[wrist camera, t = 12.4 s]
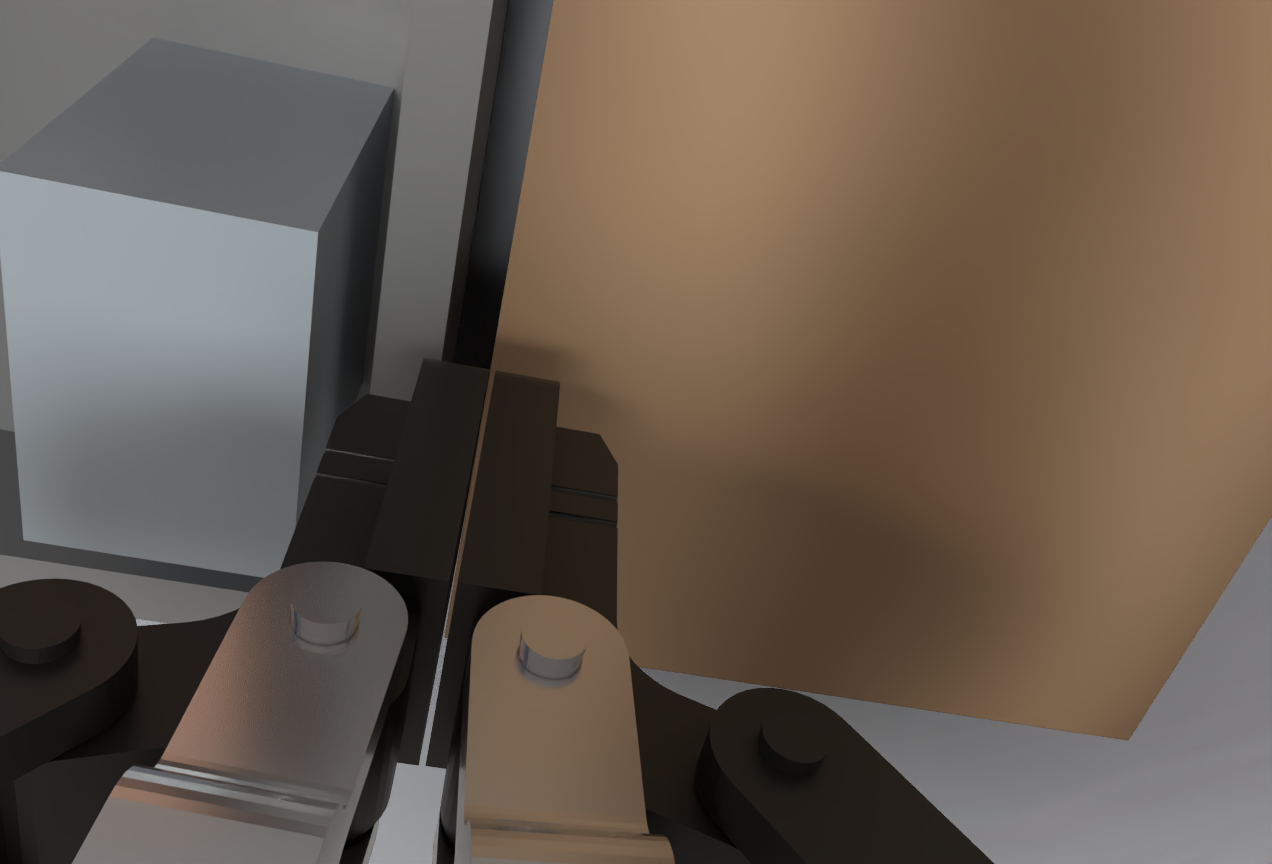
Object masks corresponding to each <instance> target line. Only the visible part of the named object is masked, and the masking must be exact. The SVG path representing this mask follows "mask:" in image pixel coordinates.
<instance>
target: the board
mask: <svg viewBox="0 0 1272 864" xmlns="http://www.w3.org/2000/svg"><path fill="white" fill-rule="evenodd" d="M495 370H497V371H503V372H508V373H514V374H519V375H525V376H531V377H536V378H542V379H547V380H553V381H559V382H560V392H559V403H558V415H557V426H556V427H562V428H567V429H573V430H579V431H585V432H590V433H596V434H600V435H601V437H602V439H603V440H604V442H605V444H606V445H607V447H608V449H609V450H610V452H611V454H612V455H613V457H614V459H615V460H616V462H617V464H618V498H617V502H618V523H617V528H618V550H617V627H618V632H619V633H620V635H621V636H622V637H623V639H624V642H625V644H626V646H627V649H628V654H629V656H630V658H631V659H632V660H633V662H634V663H635V664H636V665H637V666H638V667H645V668H652V669H658V670H665V671H671V672H678V673H685V674H691V675H698V676H705V677H711V678H718V679H724V680H731V681H738V682H744V683H751V684H758V685H764V686H771V687H777V688H784V689H791V690H797V691H804V692H811V693H817V694H824V695H830V696H837V697H844V698H850V699H857V700H864V701H870V702H877V703H883V704H890V705H897V706H903V707H910V708H917V709H923V710H930V711H936V712H943V713H950V714H956V715H963V716H970V717H976V718H983V719H989V720H996V721H1003V722H1009V723H1016V724H1023V725H1029V726H1036V727H1042V728H1049V729H1056V730H1062V731H1069V732H1076V733H1082V734H1089V735H1096V736H1102V737H1109V738H1115V739H1122V740H1129V739H1130V737H1131V735H1132V734H1133V732H1134V731H1135V729H1136V728H1137V726H1138V725H1139V723H1140V721H1141V720H1142V718H1143V717H1144V715H1145V714H1146V712H1147V710H1148V709H1149V707H1150V706H1151V704H1152V703H1153V701H1154V699H1155V698H1156V696H1157V695H1158V693H1159V692H1160V690H1161V688H1162V687H1163V685H1164V684H1165V682H1166V681H1167V679H1168V678H1169V676H1170V674H1171V673H1172V671H1173V670H1174V668H1175V667H1176V665H1177V663H1178V662H1179V660H1180V659H1181V657H1182V656H1183V654H1184V652H1185V651H1186V649H1187V648H1188V646H1189V645H1190V643H1191V641H1192V640H1193V638H1194V637H1195V635H1196V634H1197V632H1198V631H1199V629H1200V627H1201V626H1202V624H1203V623H1204V621H1205V620H1206V618H1207V616H1208V615H1209V613H1210V612H1211V610H1212V609H1213V607H1214V605H1215V604H1216V602H1217V601H1218V599H1219V598H1220V596H1221V594H1222V593H1223V591H1224V590H1225V588H1226V587H1227V585H1228V584H1229V582H1230V580H1231V579H1232V577H1233V576H1234V574H1235V573H1236V571H1237V569H1238V568H1239V566H1240V565H1241V563H1242V562H1243V560H1244V558H1245V557H1246V555H1247V554H1248V552H1249V551H1250V549H1251V547H1252V546H1253V544H1254V543H1255V541H1256V540H1257V538H1258V537H1259V535H1260V533H1261V532H1262V530H1263V529H1264V527H1265V526H1266V524H1267V522H1268V521H1269V519H1270V518H1271V516H1272V0H554V1H553V7H552V13H551V18H550V24H549V30H548V36H547V42H546V48H545V53H544V59H543V65H542V71H541V77H540V83H539V89H538V94H537V100H536V106H535V112H534V118H533V124H532V129H531V135H530V141H529V147H528V153H527V159H526V164H525V170H524V176H523V182H522V188H521V194H520V200H519V205H518V211H517V217H516V223H515V229H514V235H513V240H512V246H511V252H510V258H509V264H508V270H507V275H506V281H505V287H504V293H503V299H502V305H501V311H500V316H499V322H498V328H497V334H496V340H495V346H494V351H493V357H492V363H491V369H490V375H489V381H488V386H487V392H486V398H485V404H484V410H483V416H482V422H481V427H480V433H479V439H478V445H477V451H476V457H475V462H474V468H473V474H472V480H471V486H470V492H469V497H468V503H467V509H466V515H465V521H464V527H463V533H462V538H461V544H460V550H459V556H458V562H457V568H456V573H455V579H454V585H453V591H452V597H451V603H450V608H449V614H448V620H447V626H446V632H445V637H446V638H448V634H449V628H450V623H451V617H452V611H453V605H454V600H455V594H456V588H457V582H458V577H459V571H460V566H461V560H462V554H463V549H464V543H465V538H466V532H467V527H468V521H469V515H470V510H471V504H472V499H473V493H474V487H475V482H476V476H477V471H478V465H479V460H480V454H481V448H482V443H483V437H484V432H485V426H486V421H487V415H488V409H489V404H490V398H491V393H492V387H493V382H494V376H495Z"/></svg>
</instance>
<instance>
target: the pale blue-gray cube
mask: <svg viewBox="0 0 1272 864" xmlns="http://www.w3.org/2000/svg"><path fill="white" fill-rule="evenodd" d="M393 92H394V88H392V87H387V86H382V85H377V84H373V83H368V82H363V81H358V80H353V79H349V78H344V77H339V76H334V75H330V74H325V73H320V72H315V71H310V70H306V69H301V68H296V67H291V66H287V65H282V64H277V63H272V62H267V61H263V60H258V59H253V58H248V57H244V56H239V55H234V54H229V53H224V52H220V51H215V50H210V49H205V48H200V47H196V46H191V45H186V44H181V43H177V42H172V41H167V40H162V39H157V38H152V39H151V40H150V41H148V42H147V43H146V44H145V45H143V46H142V47H141V48H140V49H139V50H137V51H136V52H135V53H134V54H133V55H131V56H130V57H129V58H128V59H127V60H125V61H124V62H123V63H122V64H121V65H119V66H118V67H117V68H116V69H114V70H113V71H112V72H111V73H110V74H108V75H107V76H106V77H105V78H104V79H102V80H101V81H100V82H99V83H98V84H96V85H95V86H94V87H93V88H91V89H90V90H89V91H88V92H87V93H85V94H84V95H83V96H82V97H81V98H79V99H78V100H77V101H76V102H75V103H73V104H72V105H71V106H70V107H68V108H67V109H66V110H65V111H64V112H62V113H61V114H60V115H59V116H58V117H56V118H55V119H54V120H53V121H52V122H50V123H49V124H48V125H47V126H45V127H44V128H43V129H42V130H41V131H39V132H38V133H37V134H36V135H35V136H33V137H32V138H31V139H30V140H29V141H27V142H26V143H25V144H24V145H22V146H21V147H20V148H19V149H18V150H16V151H15V152H14V153H13V154H12V155H10V156H9V157H8V158H7V159H6V160H4V161H3V162H2V163H1V164H0V258H1V271H2V283H3V295H4V307H5V319H6V332H7V344H8V356H9V368H10V380H11V393H12V405H13V417H14V429H15V441H16V453H17V466H18V478H19V490H20V502H21V514H22V527H23V539H24V540H26V541H32V542H39V543H45V544H51V545H58V546H64V547H71V548H77V549H83V550H90V551H96V552H102V553H109V554H115V555H122V556H128V557H134V558H141V559H147V560H154V561H160V562H166V563H173V564H179V565H186V566H192V567H198V568H205V569H211V570H218V571H224V572H230V573H237V574H243V575H250V576H256V577H262V578H265V577H266V576H268V575H270V574H272V573H274V572H276V571H278V570H280V568H281V565H282V563H283V560H284V557H285V555H286V552H287V549H288V547H289V544H290V541H291V539H292V536H293V533H294V531H295V528H296V525H297V523H298V520H299V517H300V515H301V512H302V509H303V507H304V504H305V501H306V499H307V496H308V493H309V491H310V488H311V485H312V483H313V480H314V478H316V472H317V469H318V467H319V464H320V461H321V459H322V456H323V453H325V449H326V445H327V443H328V440H329V437H330V435H331V432H332V429H333V427H334V424H335V421H336V419H337V417H338V416H339V415H340V414H341V413H343V412H344V411H345V410H347V409H348V408H349V407H350V406H352V405H353V404H354V403H355V402H356V399H357V396H358V394H359V391H360V388H361V385H362V381H363V372H364V363H365V353H366V344H367V335H368V325H369V316H370V307H371V297H372V288H373V279H374V269H375V260H376V251H377V241H378V232H379V223H380V213H381V204H382V195H383V185H384V176H385V167H386V157H387V148H388V139H389V129H390V120H391V111H392V101H393Z"/></svg>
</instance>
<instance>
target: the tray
mask: <svg viewBox="0 0 1272 864" xmlns="http://www.w3.org/2000/svg"><path fill="white" fill-rule="evenodd" d="M508 1H509V0H0V164H1V163H2V162H3V161H4V160H6V159H7V158H8V157H9V156H10V155H12V154H13V153H14V152H15V151H16V150H18V149H19V148H20V147H21V146H22V145H24V144H25V143H26V142H27V141H29V140H30V139H31V138H32V137H33V136H35V135H36V134H37V133H38V132H39V131H41V130H42V129H43V128H44V127H45V126H47V125H48V124H49V123H50V122H52V121H53V120H54V119H55V118H56V117H58V116H59V115H60V114H61V113H62V112H64V111H65V110H66V109H67V108H68V107H70V106H71V105H72V104H73V103H75V102H76V101H77V100H78V99H79V98H81V97H82V96H83V95H84V94H85V93H87V92H88V91H89V90H90V89H91V88H93V87H94V86H95V85H96V84H98V83H99V82H100V81H101V80H102V79H104V78H105V77H106V76H107V75H108V74H110V73H111V72H112V71H113V70H114V69H116V68H117V67H118V66H119V65H121V64H122V63H123V62H124V61H125V60H127V59H128V58H129V57H130V56H131V55H133V54H134V53H135V52H136V51H137V50H139V49H140V48H141V47H142V46H143V45H145V44H146V43H147V42H148V41H150V40H151V39H152V38H157V39H162V40H167V41H172V42H177V43H181V44H186V45H191V46H196V47H200V48H205V49H210V50H215V51H220V52H224V53H229V54H234V55H239V56H244V57H248V58H253V59H258V60H263V61H267V62H272V63H277V64H282V65H287V66H291V67H296V68H301V69H306V70H310V71H315V72H320V73H325V74H330V75H334V76H339V77H344V78H349V79H353V80H358V81H363V82H368V83H373V84H377V85H382V86H387V87H392V88H394V92H393V101H392V111H391V120H390V129H389V139H388V148H387V157H386V167H385V176H384V185H383V195H382V204H381V213H380V223H379V232H378V241H377V251H376V260H375V269H374V279H373V288H372V297H371V307H370V316H369V325H368V335H367V344H366V353H365V363H364V372H363V381H362V385H361V388H360V391H359V394H358V396H357V399H356V402H357V401H358V400H359V399H361V398H362V397H363V396H365V395H366V394H371V395H377V396H383V397H388V398H394V399H400V400H406V401H411V400H412V396H413V393H414V389H415V386H416V382H417V379H418V375H419V372H420V368H421V365H422V361H423V359H424V358H429V359H434V360H440V361H446V362H451V363H454V359H455V352H456V345H457V339H458V332H459V325H460V319H461V312H462V306H463V299H464V292H465V286H466V279H467V272H468V266H469V259H470V253H471V246H472V239H473V233H474V226H475V220H476V213H477V206H478V200H479V193H480V186H481V180H482V173H483V167H484V160H485V153H486V147H487V140H488V134H489V127H490V120H491V114H492V107H493V100H494V94H495V87H496V81H497V74H498V67H499V61H500V54H501V48H502V41H503V34H504V28H505V21H506V14H507V8H508ZM356 402H355V403H356ZM55 578H58V579H72V580H77V581H83V582H88V583H91V584H94V585H97V586H100V587H102V588H104V589H106V590H108V591H110V592H112V593H114V594H115V595H116V596H118V597H119V598H121V599H122V600H123V601H124V602H125V603H126V604H127V606H128V607H129V608H130V609H131V611H132V613H133V615H134V617H135V618H136V619H143V620H150V621H157V622H163V623H170V624H171V623H182V622H191V621H199V620H205V619H209V618H213V617H217V616H221V615H223V614H226V613H229V612H232V611H234V610H236V609H238V608H240V607H241V605H242V603H243V601H244V599H245V597H246V596H247V594H248V593H249V591H250V590H251V589H252V588H253V587H254V586H255V585H256V584H257V583H258V582H259V581H261V580H262V579H264V578H262V577H256V576H250V575H243V574H237V573H230V572H224V571H218V570H211V569H205V568H198V567H192V566H186V565H179V564H173V563H166V562H160V561H154V560H147V559H141V558H134V557H128V556H122V555H115V554H109V553H102V552H96V551H90V550H83V549H77V548H71V547H64V546H58V545H51V544H45V543H39V542H32V541H26V540H24V539H23V527H22V514H21V502H20V490H19V478H18V466H17V453H16V441H15V429H14V417H13V405H12V393H11V380H10V368H9V356H8V344H7V332H6V319H5V307H4V295H3V283H2V271H1V258H0V588H2V587H5V586H7V585H11V584H15V583H19V582H23V581H30V580H37V579H55Z"/></svg>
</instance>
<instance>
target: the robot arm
mask: <svg viewBox="0 0 1272 864" xmlns="http://www.w3.org/2000/svg"><path fill="white" fill-rule="evenodd" d="M488 376H489V369H485V368H479V367H474V366H468V365H462V364H457V363H451V362H446V361H440V360H434V359H429V358H424V359H423V361H422V365H421V368H420V372H419V375H418V379H417V382H416V386H415V389H414V393H413V396H412V400H411V401H406V400H400V399H394V398H388V397H383V396H377V395H371V394H366V395H365V396H363V397H362V398H361V399H359V400H358V401H357V402H356V403H354V404H353V405H352V406H350V407H349V408H348V409H347V410H345V411H344V412H343V413H341V414H340V415H339V416H338V417H337V419H336V421H335V424H334V427H333V429H332V432H331V435H330V437H329V440H328V443H327V445H326V449H325V453H323V456H322V459H321V461H320V464H319V467H318V469H317V472H316V478H314V480H313V483H312V485H311V488H310V491H309V493H308V496H307V499H306V501H305V504H304V507H303V509H302V512H301V515H300V517H299V520H298V523H297V525H296V528H295V531H294V533H293V536H292V539H291V541H290V544H289V547H288V549H287V552H286V555H285V557H284V560H283V563H282V565H281V568H280V570H278V571H276V572H274V573H272V574H270V575H268V576H266V577H265V578H264V579H262V580H261V581H259V582H258V583H257V584H256V585H255V586H254V587H253V588H252V589H251V590H250V591H249V593H248V594H247V596H246V597H245V599H244V601H243V603H242V605H241V607H240V608H238V609H236V610H234V611H232V612H229V613H226V614H223V615H221V616H217V617H213V618H209V619H205V620H199V621H191V622H182V623H171V624H159V625H147V626H137V624H136V619H135V617H134V615H133V613H132V611H131V609H130V608H129V607H128V606H127V604H126V603H125V602H124V601H123V600H122V599H121V598H119V597H118V596H116V595H115V594H114V593H112V592H110V591H108V590H106V589H104V588H102V587H100V586H97V585H94V584H91V583H88V582H83V581H77V580H72V579H58V578H55V579H37V580H30V581H23V582H19V583H15V584H11V585H7V586H5V587H2V588H0V864H368V863H369V859H370V856H371V853H372V849H373V846H374V843H375V840H376V835H377V830H378V824H379V818H380V817H381V816H382V814H383V812H384V811H385V809H386V807H387V804H388V801H389V798H390V794H391V789H392V784H393V779H394V774H395V769H396V765H397V762H398V763H405V764H413V765H419V760H420V755H421V749H422V744H423V739H424V733H425V728H426V722H427V717H428V711H429V706H430V701H431V695H432V690H433V684H434V679H435V674H436V668H437V663H438V657H439V652H440V647H441V641H442V636H443V630H444V625H445V620H446V614H447V609H448V603H449V598H450V593H451V587H452V582H453V576H454V571H455V565H456V560H457V555H458V549H459V544H460V538H461V533H462V527H463V522H464V516H465V511H466V505H467V499H468V493H469V488H470V482H471V476H472V470H473V464H474V458H475V453H476V447H477V441H478V435H479V429H480V423H481V417H482V412H483V406H484V400H485V394H486V388H487V382H488ZM559 392H560V382H559V381H553V380H547V379H542V378H536V377H531V376H525V375H519V374H514V373H508V372H503V371H497V370H495V376H494V382H493V387H492V393H491V398H490V404H489V409H488V415H487V421H486V426H485V432H484V437H483V443H482V448H481V454H480V460H479V465H478V471H477V476H476V482H475V487H474V493H473V499H472V504H471V510H470V515H469V521H468V527H467V532H466V538H465V543H464V549H463V554H462V560H461V566H460V571H459V577H458V582H457V588H456V594H455V600H454V605H453V611H452V617H451V623H450V628H449V634H448V640H447V646H446V652H445V657H444V663H443V669H442V675H441V680H440V686H439V692H438V698H437V703H436V709H435V715H434V721H433V727H432V732H431V738H430V744H429V750H428V755H427V761H426V766H430V767H438V768H445V769H446V775H445V781H444V788H443V794H442V800H441V807H440V812H439V818H438V823H437V828H436V833H435V839H434V845H433V858H432V864H994V863H993V862H992V861H991V860H990V859H989V858H988V857H987V856H986V855H985V854H984V853H983V852H982V851H981V850H980V849H978V848H977V847H976V846H975V845H974V844H973V843H972V842H971V841H970V840H969V839H968V838H967V837H966V836H965V835H964V834H963V833H962V832H961V831H960V830H959V829H958V828H957V827H956V826H954V825H953V824H952V823H951V822H950V821H949V820H948V819H947V818H946V817H945V816H944V815H943V814H942V813H941V812H940V811H939V810H938V809H937V808H936V807H935V806H934V805H933V804H931V803H930V802H929V801H928V800H927V799H926V798H925V797H924V796H923V795H922V794H921V793H920V792H919V791H918V790H917V789H916V788H915V787H914V786H913V785H912V784H911V783H910V782H909V781H907V780H906V779H905V778H904V777H903V776H902V775H901V774H900V773H899V772H898V771H897V770H896V769H895V768H894V767H893V766H892V765H891V764H890V763H889V762H888V761H887V760H886V759H884V758H883V757H882V756H881V755H880V754H879V753H878V752H877V751H876V750H875V749H874V748H873V747H872V746H871V745H870V744H869V743H868V742H867V741H866V740H865V739H864V738H863V737H862V736H860V735H859V734H858V733H857V732H856V731H855V730H854V729H853V728H852V727H851V726H850V725H849V724H848V723H847V722H846V721H845V720H844V719H842V718H841V717H840V716H839V715H838V714H837V713H835V712H834V711H833V710H831V709H830V708H828V707H827V706H825V705H824V704H822V703H820V702H818V701H816V700H814V699H812V698H810V697H807V696H805V695H802V694H799V693H797V692H792V691H788V690H784V689H775V688H757V689H751V690H746V691H743V692H741V693H738V694H735V695H734V696H732V697H730V698H729V699H727V700H726V701H725V702H724V703H723V704H722V705H721V706H720V707H719V708H718V710H715V709H713V708H710V707H708V706H705V705H703V704H701V703H698V702H696V701H693V700H691V699H689V698H686V697H684V696H681V695H679V694H677V693H675V692H673V691H671V690H669V689H667V688H665V687H664V686H662V685H660V684H659V683H657V682H656V681H654V680H653V679H652V678H650V677H649V676H648V675H647V674H645V673H644V672H643V671H642V670H641V669H640V668H639V667H638V666H637V665H636V664H635V663H634V662H633V660H632V659H631V658H630V656H629V654H628V649H627V646H626V644H625V642H624V639H623V637H622V636H621V635H620V633H619V632H618V627H617V550H618V528H617V523H618V502H617V498H618V464H617V462H616V460H615V459H614V457H613V455H612V454H611V452H610V450H609V449H608V447H607V445H606V444H605V442H604V440H603V439H602V437H601V435H600V434H596V433H590V432H585V431H579V430H573V429H567V428H562V427H556V426H557V415H558V403H559Z"/></svg>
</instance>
